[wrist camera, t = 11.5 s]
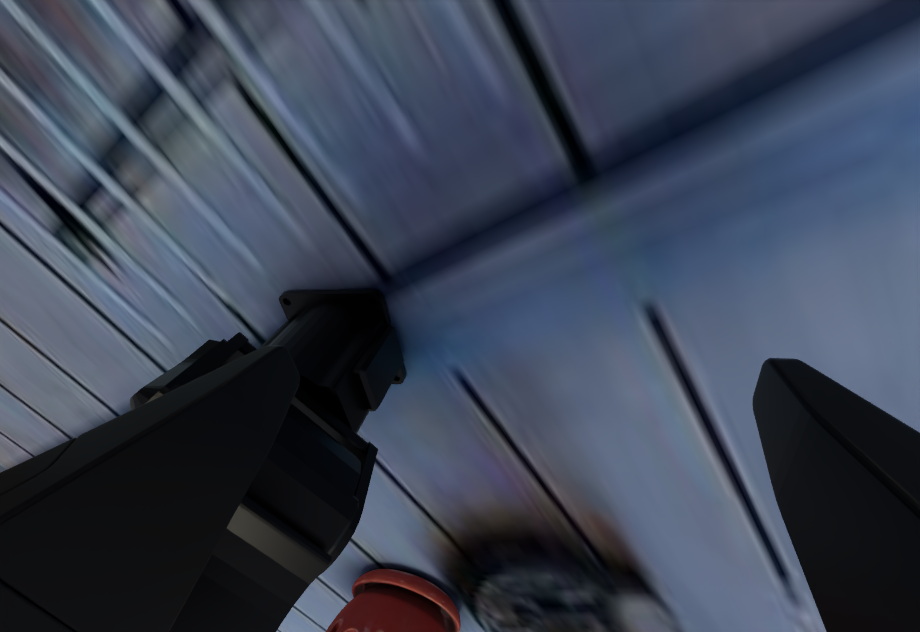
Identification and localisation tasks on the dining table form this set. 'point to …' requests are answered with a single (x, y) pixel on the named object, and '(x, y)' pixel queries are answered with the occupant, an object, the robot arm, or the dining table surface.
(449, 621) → the plant pot
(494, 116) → the dining table surface
